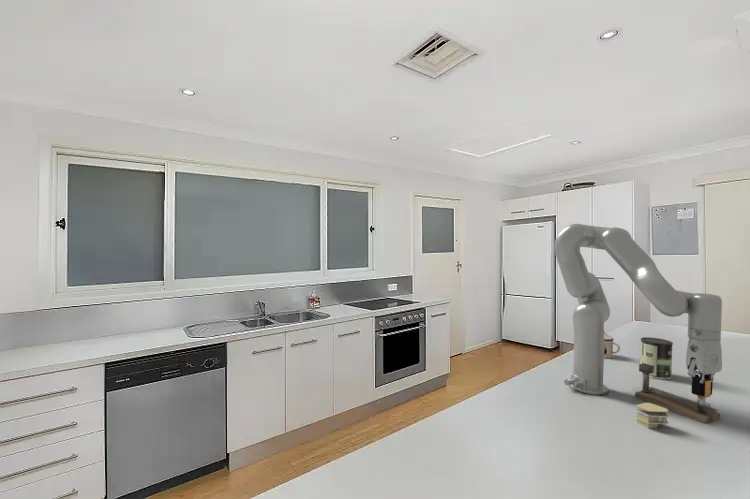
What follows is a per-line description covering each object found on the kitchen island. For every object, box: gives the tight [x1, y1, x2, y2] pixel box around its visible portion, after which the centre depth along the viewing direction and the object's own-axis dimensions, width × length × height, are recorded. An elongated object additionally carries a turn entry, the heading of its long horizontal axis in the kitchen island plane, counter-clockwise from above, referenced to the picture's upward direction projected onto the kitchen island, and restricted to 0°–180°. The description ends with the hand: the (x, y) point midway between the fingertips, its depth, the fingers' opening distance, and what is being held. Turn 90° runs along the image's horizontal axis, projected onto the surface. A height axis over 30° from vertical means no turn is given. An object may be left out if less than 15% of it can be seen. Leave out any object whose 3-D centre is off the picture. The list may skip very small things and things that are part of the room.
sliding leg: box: [693, 378, 712, 411], centre depth 113 cm, size 5×3×10 cm, turn 113°
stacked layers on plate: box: [635, 402, 669, 429], centre depth 107 cm, size 10×9×6 cm
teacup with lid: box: [604, 330, 621, 359], centre depth 173 cm, size 12×9×12 cm
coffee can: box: [639, 336, 674, 380], centre depth 149 cm, size 10×10×14 cm
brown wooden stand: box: [634, 363, 721, 424], centre depth 120 cm, size 8×20×11 cm, turn 23°
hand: (701, 393), depth 113 cm, fingers closed on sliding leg, 3 cm apart
